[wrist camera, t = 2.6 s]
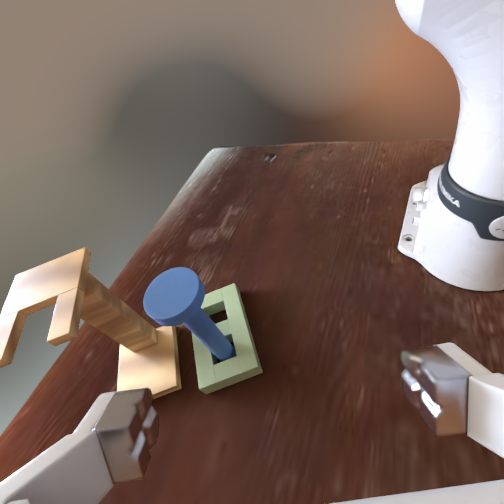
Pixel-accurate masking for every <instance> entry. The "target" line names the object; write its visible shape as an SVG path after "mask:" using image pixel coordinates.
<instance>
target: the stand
mask: <svg viewBox="0 0 504 504" xmlns="http://www.w3.org/2000/svg"><path fill="white" fill-rule="evenodd" d="M90 256H91V252H90V251H89V250H88V249H87V248H86V247H85V248H82V249H80V250H77V251H75V252H72V253H70V254H67V255H65V256H62V257H60V258H57V259H55V260H52V261H50V262H48V263H45V264H42V265H40V266H38V267H35V268H33V269H30V270H28V271H25V272H23V273H20V274H18V275H16V276H15V279H14V281H13V284H12V287H11V289H10V292H9V294H8V297H7V300H6V302H5V304H4V307H3V310H2V312H1V315H0V368H1V367H4V366H6V365H9V364H11V362H12V359H13V356H14V353H15V350H16V346H17V344H18V340H19V337H20V334H21V331H22V328H23V325H24V321H25V319H26V315H29V314H31V313H34V312H36V311H39V310H41V309H44V308H46V307H49V306H51V305H54V304H56V306H55V310H54V314H53V318H52V322H51V326H50V330H49V334H48V339H47V342H49V343H50V344H52V345H54V346H57V345H59V344H62V343H64V342H67V341H69V340H72V339H75V338H77V335H78V329H79V323H80V318H81V319H83V320H84V321H86V322H87V323H89V324H90V325H92V326H93V327H95V328H97V329H98V330H100V331H101V332H103V333H104V334H106V335H107V336H109V337H110V338H112V339H113V340H115V341H117V342H118V343H120V352H119V369H118V387H117V392H118V391H124V390H132V389H141V388H149V389H151V391H152V394H153V398H154V399H156V398H158V397H161V396H163V395H166V394H168V393H171V392H174V391H176V390H179V389H181V377H180V366H179V355H178V344H177V333H176V326H162V327H160V328H157V329H155V328H154V327H153V326H152V325H151V324H149V323H148V322H147V321H146V320H145V319H143V318H142V317H141V316H140V315H139V314H137V313H136V312H135V311H134V310H133V309H131V308H130V307H129V306H128V305H127V304H125V303H124V302H123V301H122V300H121V299H120V298H118V297H117V296H116V295H115V294H114V293H112V292H111V291H110V290H109V289H108V288H106V287H105V286H104V285H103V284H102V283H100V282H99V281H98V280H97V279H96V278H94V277H93V276H92V275H91V274H90V273H88V269H89V263H90Z"/></svg>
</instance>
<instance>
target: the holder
mask: <svg viewBox="0 0 504 504" xmlns="http://www.w3.org/2000/svg"><path fill="white" fill-rule="evenodd" d="M201 308H202V309H203V310H204V311H205V313H206V314H207V315H208V316H210V315H212V314H215V313H217V312H220V311H223V310H225V309H226V312H227V316H228V319H227V320H225V321H222V322H220V323H217V324H215V325H216V326H217V327H218V328H219V330H220V331H221V332H222V333H223V335H224V336H225V337H226V338H227V339H228V341H229V342H230V343H231V342H234V346H235V350H236V354H237V356H235V357H233V358H230V359H228V360H225V361H223V362H220V363H218V360H217V357H216V356H215V355H214V354H213V353H212V352H211V351H210V350H209V349H208V348H207V347H206V346H205V345H204V344H203V343H202V342H201V341H200V340H199V339H198V338H197V337H196V336H195V335H194V334H193V333H192V339H193V347H194V354H195V362H196V369H197V377H198V385H199V390H201V391H202V392H204V393H205V394H209V393H211V392H214V391H216V390H219V389H222V388H224V387H227V386H229V385H232V384H235V383H237V382H240V381H242V380H245V379H248V378H250V377H253V376H255V375H258V374H261V373H263V371H262V368H261V364H260V361H259V358H258V354H257V351H256V347H255V344H254V340H253V337H252V333H251V330H250V326H249V323H248V319H247V316H246V313H245V309H244V306H243V302H242V299H241V295H240V292H239V290H238V288H237V286H236V285H235V283H234V284H231V285H229V286H226V287H224V288H221V289H219V290H216V291H214V292H211V293H208V294H206V295H205V297H204V301H203V303H202V305H201Z"/></svg>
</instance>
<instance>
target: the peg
mask: <svg viewBox="0 0 504 504" xmlns="http://www.w3.org/2000/svg"><path fill="white" fill-rule="evenodd" d="M204 297H205V288H204V285H203V283H202V282H201V280H200V279H199V277H198V276H197V275H196V273H195V272H194V271H192V270H191V269H188V268H184V267H178V268H173V269H170V270H167V271H165V272H163V273H162V274H160V275H159V276H158V277H156V278H155V279H154V280H153V281H152V283H151V284H150V285H149V287H148V288H147V290H146V292H145V295H144V301H143V304H144V309H145V311H146V313H147V314H148V315H149V316H150V317H151V318H152V319H154V320H155V321H156V322H157V323H159V324H160V325H163V326H176V325H179V324H182V323H183V324H184V325H185V326H186V327H187V328H188V329H189V330H190V331H191V332H192V333H193V334H194V335H195V336H196V337H197V338H198V339H199V340H200V341H201V342H202V343H203V344H204V345H205V346H206V347H207V348H208V349H209V350H210V351H211V352H212V353H213V354H214V355H215V356H216V357H217V358H218V359H219V360H220V361H221V362H223V361H225V360H228V359H230V358H233V357H235V356H237V354H236V350H235V348H234V347H233V345H232V344H231V343H230V342H229V341H228V339H227V338H226V337H225V336H224V335H223V333H222V332H221V331H220V330H219V328H218V327H217V326H216V325H215V324H214V322H213V321H212V320H211V319H210V317H209V316H208V315H207V314H206V313H205V311H204V310H203V309H202V308H201V305H202V303H203V301H204Z"/></svg>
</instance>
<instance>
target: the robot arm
mask: <svg viewBox="0 0 504 504" xmlns="http://www.w3.org/2000/svg"><path fill="white" fill-rule="evenodd" d="M395 3H396V6H397V9H398V11H399V13H400V15H401V17H402V19H403V20H404V22H405V23H406V25H407V26H408V27H409V28H410V29H411V30H412V31H413V32H414V33H415V34H417V35H418V36H420V37H422V38H424V39H425V40H427V41H428V42H429V43H431V44H432V45H433V46H435V47H436V48H437V49H438V50H439V51H440V52H441V53H442V54H443V55H444V57H445V58H446V60H447V61H448V62H449V64H450V65H451V67H452V69H453V71H454V73H455V76H456V79H457V82H458V86H459V90H460V98H461V99H460V101H461V102H460V113H459V120H458V126H457V131H456V137H455V141H454V146H453V150H452V154H451V155H450V156H449V158H448V159H447V161H446V163H444V164H443V165H440V166H437V167H435V168H433V169H432V170H431V171H430V172H429V176H428V180H427V181H424V182H421V183H418V184H416V185H414V186H413V187H412V189H411V192H410V196H409V200H408V204H407V209H406V213H405V218H404V222H403V226H402V231H401V235H400V239H399V244H398V249H399V251H400V252H401V253H403V254H405V255H407V256H409V257H411V258H413V259H415V260H417V261H418V262H419V263H420V264H421V265H422V266H424V267H425V268H426V269H427V270H428V271H429V272H430V273H431V274H433V275H434V276H436V277H437V278H439V279H441V280H443V281H444V282H447V283H449V284H451V285H454V286H457V287H460V288H464V289H469V290H475V291H499V290H504V0H395ZM406 240H410V241H406ZM401 363H402V364H403V366H404V367H405V370H404V371H403V373H402V374H401V378H402V386H403V389H404V392H405V395H406V397H407V399H408V400H409V402H410V403H411V405H412V406H413V407H415V408H416V409H418V410H420V411H422V419H423V421H424V422H425V423H426V425H427V426H428V427H429V429H430V430H431V431H432V433H433V434H434V435H435V437H443V436H452V435H461V434H467V436H469V437H471V438H472V439H474V440H475V441H477V442H479V443H480V444H482V445H483V446H485V447H487V448H488V449H490V450H491V451H493V452H494V453H496V454H498V455H499V456H501V457H502V458H504V374H501V373H492V372H490V371H489V370H488V369H486V368H485V367H484V366H482V365H481V364H480V363H479V362H477V361H476V360H475V359H473V358H472V357H471V356H469V355H468V354H467V353H465V352H464V351H463V350H462V349H460V348H459V347H458V346H456V345H455V344H453V343H450V342H449V343H444V344H438V345H434V346H429V347H423V348H416V349H410V350H404V351H402V352H401ZM153 399H154V398H153V394H152V391H151V389H149V388H141V389H132V390H124V391H118V392H109V393H103V394H101V395H99V397H98V398H97V400H96V401H95V402H94V404H93V405H92V407H91V408H90V410H89V411H88V412H87V414H86V415H85V417H84V418H83V420H82V421H81V422H80V424H79V425H78V427H77V428H76V430H75V431H74V432H73V434H71V435H66V436H65V437H64V438H62V439H61V440H59V441H58V442H57V443H55V444H54V445H53V446H51V447H50V448H48V449H47V450H46V451H44V452H43V453H41V454H40V455H39V456H37V457H36V458H34V459H33V460H32V461H30V462H29V463H27V464H26V465H25V466H23V467H22V468H20V469H19V470H18V471H16V472H15V473H13V474H12V475H11V476H9V477H8V478H6V479H5V480H4V481H2V482H1V483H0V504H98V503H99V502H100V501H101V500H102V499H103V497H104V496H105V495H106V494H107V493H108V492H109V490H110V489H111V488H112V487H113V484H116V483H122V482H127V481H133V480H139V479H143V478H144V475H145V472H146V469H147V466H148V463H149V461H150V458H151V456H150V452H149V450H150V449H151V448H152V447H153V446H154V445H155V443H156V440H157V437H158V432H159V416H158V412H157V410H156V409H155V408H154V407H153V406H151V404H152V401H153ZM330 504H504V480H497V481H489V482H482V483H475V484H468V485H461V486H454V487H447V488H439V489H432V490H425V491H418V492H410V493H403V494H396V495H388V496H381V497H374V498H366V499H359V500H352V501H344V502H337V503H330Z"/></svg>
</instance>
